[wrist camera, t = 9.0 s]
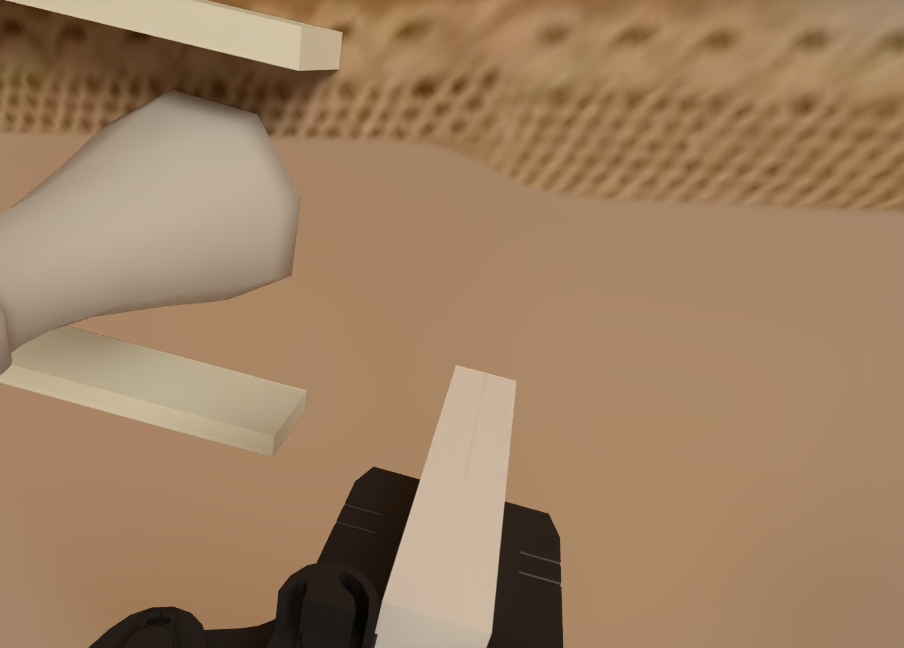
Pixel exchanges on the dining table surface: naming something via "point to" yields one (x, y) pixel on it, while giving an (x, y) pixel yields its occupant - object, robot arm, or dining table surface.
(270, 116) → the dining table surface
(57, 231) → the flask
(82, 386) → the u-shaped wooden frame
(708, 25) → the dining table surface
